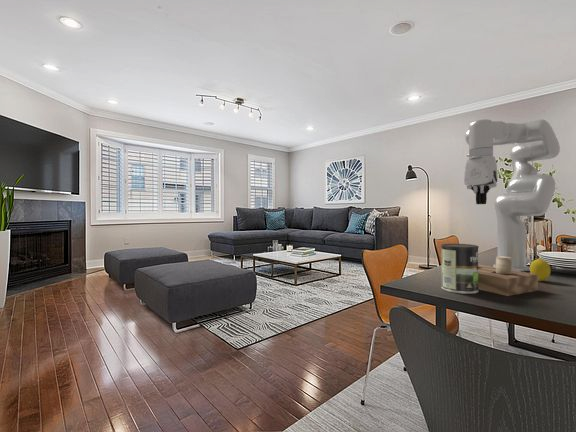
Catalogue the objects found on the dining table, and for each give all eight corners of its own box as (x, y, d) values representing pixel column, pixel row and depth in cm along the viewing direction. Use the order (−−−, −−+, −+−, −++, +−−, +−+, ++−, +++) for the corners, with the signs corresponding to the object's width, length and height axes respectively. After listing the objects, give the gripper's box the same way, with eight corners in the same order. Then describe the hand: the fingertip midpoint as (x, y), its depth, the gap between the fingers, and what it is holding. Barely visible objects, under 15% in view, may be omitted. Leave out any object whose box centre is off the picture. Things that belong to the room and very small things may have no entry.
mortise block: (470, 276, 113) (470, 260, 113) (537, 290, 92) (537, 271, 92) (443, 280, 108) (443, 263, 108) (507, 296, 87) (507, 275, 87)
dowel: (501, 286, 98) (501, 256, 98) (514, 289, 94) (514, 257, 94) (492, 288, 96) (492, 256, 96) (506, 291, 92) (505, 258, 92)
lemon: (554, 283, 101) (554, 259, 101) (535, 282, 102) (535, 259, 102) (544, 279, 106) (544, 257, 106) (526, 279, 107) (526, 256, 107)
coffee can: (482, 289, 95) (481, 244, 95) (474, 296, 88) (473, 247, 88) (446, 284, 102) (446, 242, 102) (436, 290, 95) (436, 245, 95)
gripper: (455, 157, 117) (456, 204, 117) (494, 150, 103) (494, 203, 103) (469, 158, 120) (469, 204, 120) (508, 151, 106) (509, 203, 106)
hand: (481, 204), depth 112 cm, fingers closed
